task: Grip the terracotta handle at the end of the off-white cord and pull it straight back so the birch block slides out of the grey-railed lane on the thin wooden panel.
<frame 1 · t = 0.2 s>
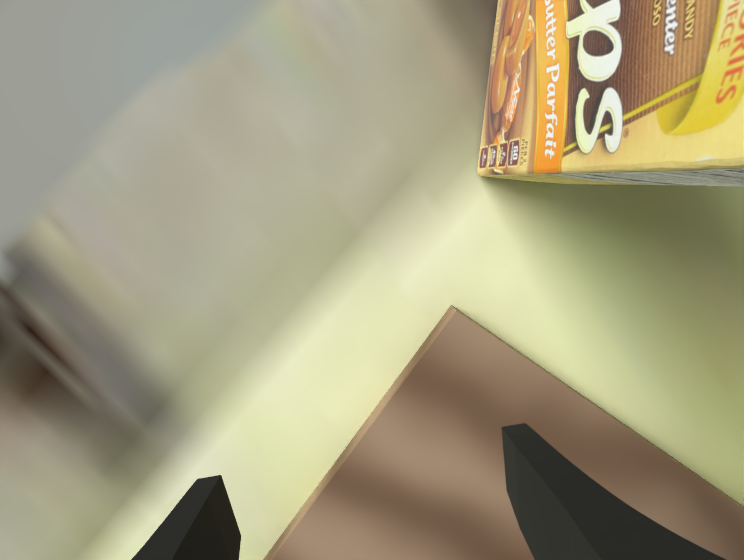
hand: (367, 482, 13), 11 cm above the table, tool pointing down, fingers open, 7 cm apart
candy box: (533, 76, 21), on the table
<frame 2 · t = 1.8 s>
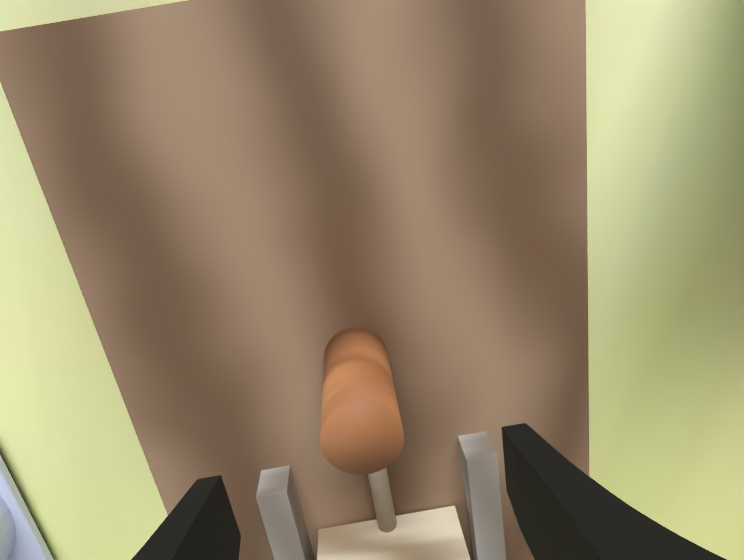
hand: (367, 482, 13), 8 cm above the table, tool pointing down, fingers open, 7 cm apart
thin wooden panel: (392, 539, 24), on the table
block: (384, 527, 19), point 4 cm above the table, slide at 0.0 cm
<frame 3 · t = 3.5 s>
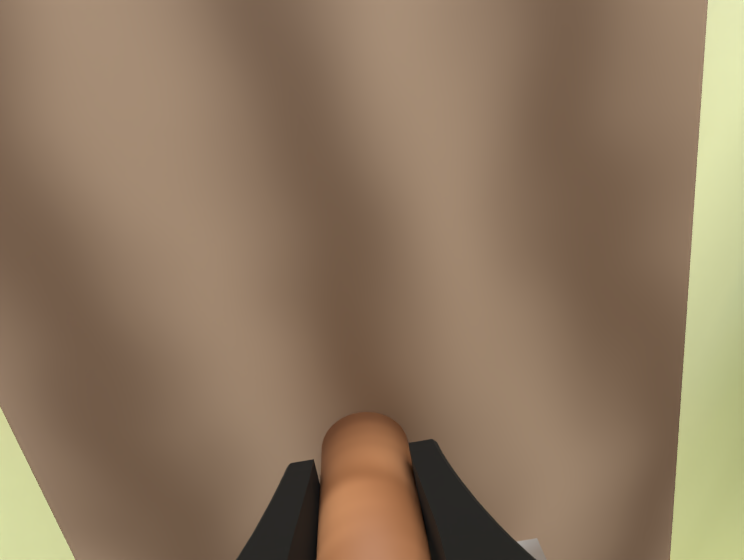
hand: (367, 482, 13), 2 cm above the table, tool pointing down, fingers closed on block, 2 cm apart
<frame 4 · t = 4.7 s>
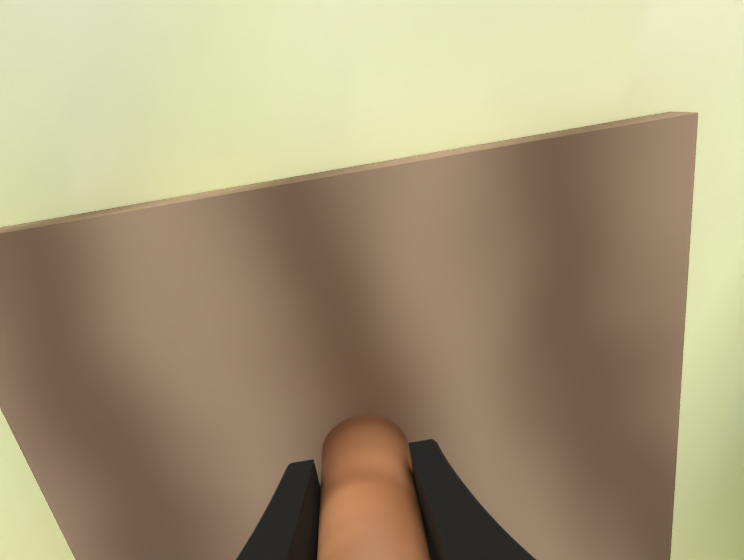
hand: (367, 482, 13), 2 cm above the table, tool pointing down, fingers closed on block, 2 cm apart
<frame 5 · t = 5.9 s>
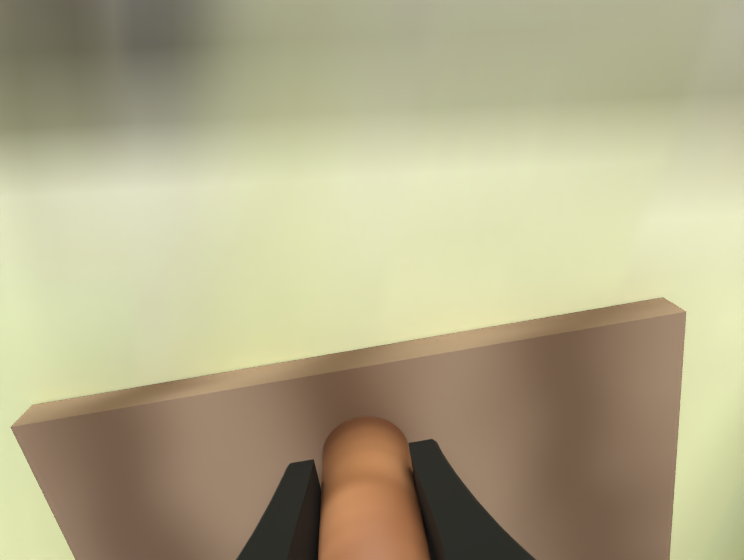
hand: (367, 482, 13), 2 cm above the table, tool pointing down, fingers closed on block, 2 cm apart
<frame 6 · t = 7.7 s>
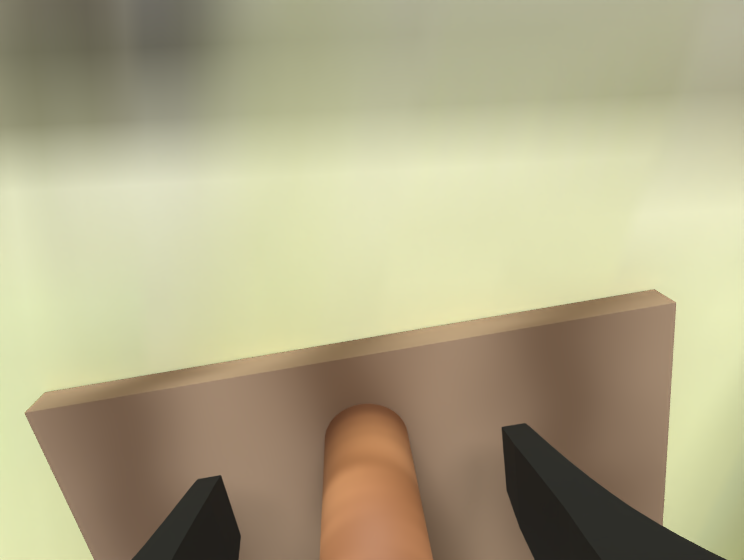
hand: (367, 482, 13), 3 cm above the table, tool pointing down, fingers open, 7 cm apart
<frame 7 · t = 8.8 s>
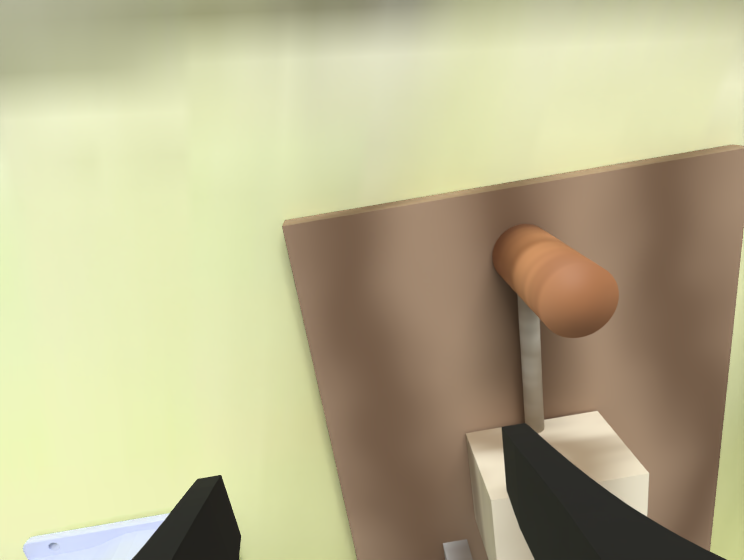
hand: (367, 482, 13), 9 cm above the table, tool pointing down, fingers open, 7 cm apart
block: (552, 416, 19), point 4 cm above the table, slide at 9.8 cm
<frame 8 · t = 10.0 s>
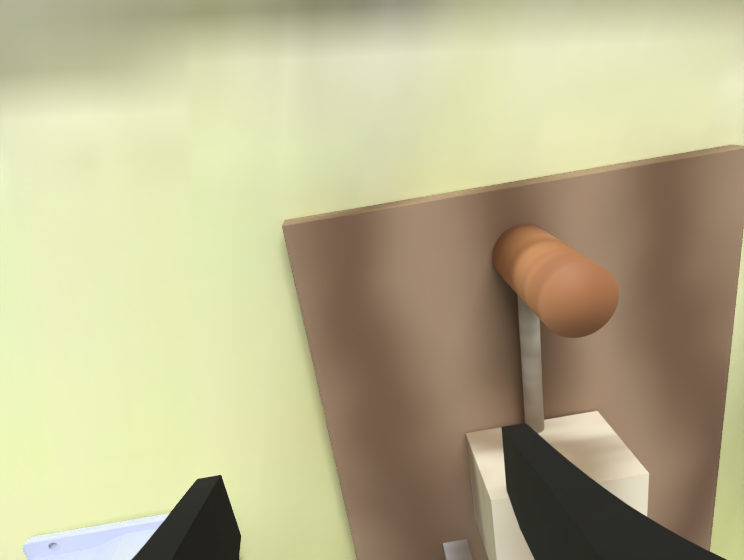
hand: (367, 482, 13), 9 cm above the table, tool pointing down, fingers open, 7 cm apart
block: (552, 416, 19), point 4 cm above the table, slide at 9.8 cm
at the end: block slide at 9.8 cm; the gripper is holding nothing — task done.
